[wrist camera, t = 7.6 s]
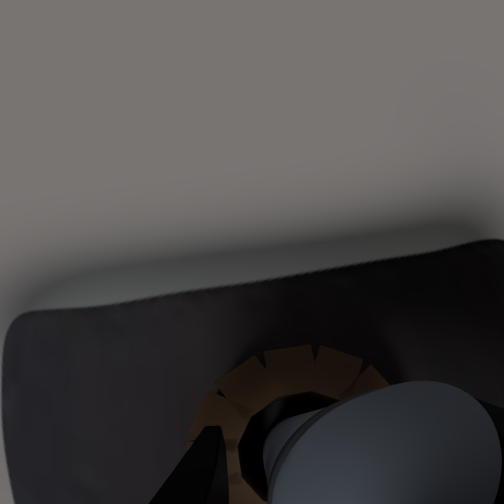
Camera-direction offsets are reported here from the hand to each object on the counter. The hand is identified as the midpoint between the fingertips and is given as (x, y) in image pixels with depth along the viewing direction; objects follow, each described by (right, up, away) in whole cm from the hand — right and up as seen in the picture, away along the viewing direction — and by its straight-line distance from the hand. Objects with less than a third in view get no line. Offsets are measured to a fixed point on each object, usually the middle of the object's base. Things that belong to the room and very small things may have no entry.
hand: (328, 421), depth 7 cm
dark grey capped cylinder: (0, -5, +6) cm, 8 cm away
